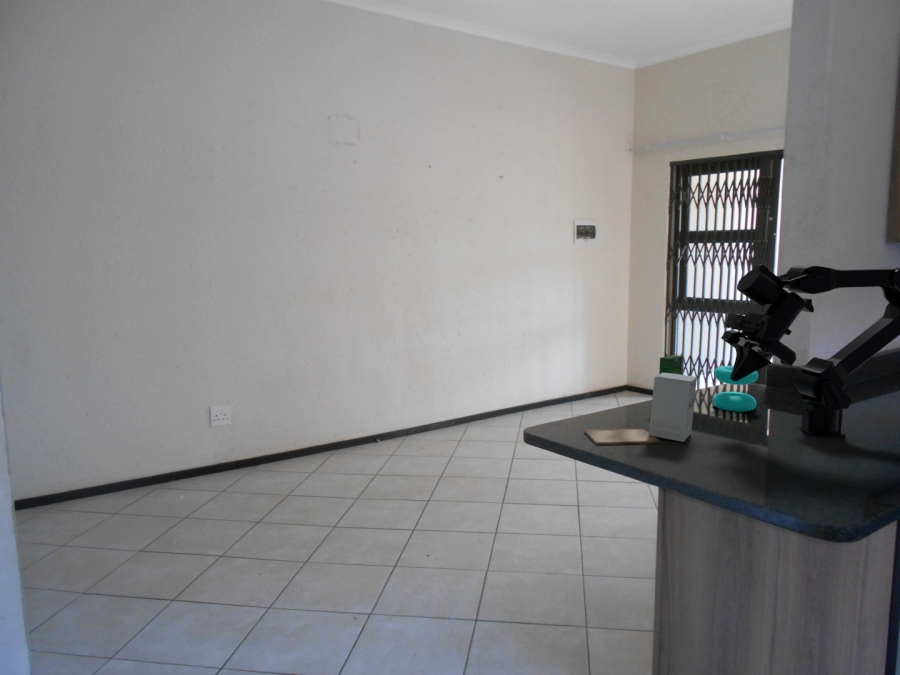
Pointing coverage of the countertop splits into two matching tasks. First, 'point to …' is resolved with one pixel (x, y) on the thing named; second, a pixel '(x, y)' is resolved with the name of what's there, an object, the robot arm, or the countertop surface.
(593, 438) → the wooden board
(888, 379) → the countertop surface
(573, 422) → the countertop surface
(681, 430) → the supplement box
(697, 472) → the countertop surface
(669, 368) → the coffee box
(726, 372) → the donuts
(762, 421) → the countertop surface
